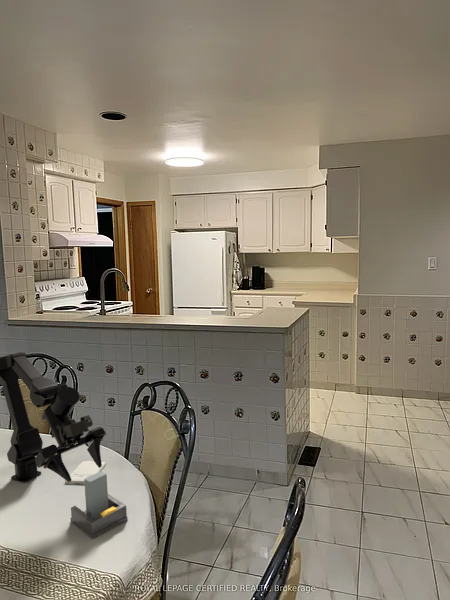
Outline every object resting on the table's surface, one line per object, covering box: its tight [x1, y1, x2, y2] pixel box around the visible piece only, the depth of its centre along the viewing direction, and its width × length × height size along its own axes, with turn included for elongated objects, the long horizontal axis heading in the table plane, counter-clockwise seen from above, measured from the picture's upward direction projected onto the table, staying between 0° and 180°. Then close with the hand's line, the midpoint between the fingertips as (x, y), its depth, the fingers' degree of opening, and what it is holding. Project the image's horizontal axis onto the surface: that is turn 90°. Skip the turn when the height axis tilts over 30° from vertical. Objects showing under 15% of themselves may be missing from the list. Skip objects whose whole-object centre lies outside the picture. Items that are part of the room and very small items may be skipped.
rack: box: [70, 493, 129, 540], centre depth 115 cm, size 11×10×5 cm
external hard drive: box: [64, 460, 107, 485], centre depth 141 cm, size 2×8×12 cm
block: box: [84, 471, 109, 519], centre depth 115 cm, size 2×5×11 cm, turn 141°
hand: (85, 473), depth 117 cm, fingers open, 9 cm apart
